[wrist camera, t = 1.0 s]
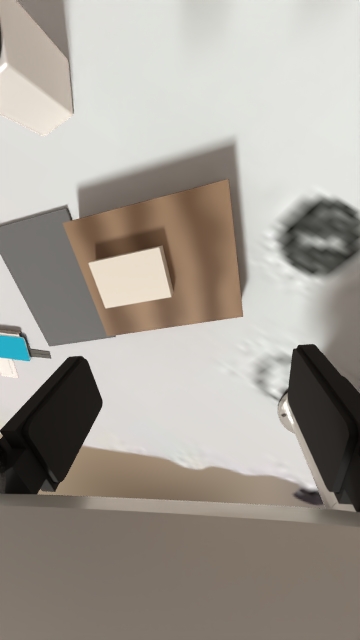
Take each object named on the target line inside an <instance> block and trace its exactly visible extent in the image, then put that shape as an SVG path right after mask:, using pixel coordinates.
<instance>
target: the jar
mask: <svg viewBox="0 0 360 640" xmlns="http://www.w3.org/2000/svg"><path fill="white" fill-rule="evenodd" d="M0 115H2V116H4V117H6V118H8V119H10V120H12V121H14V122H16V123H18V124H20V125H22V126H24V127H26V128H28V129H30V130H32V131H34V132H36V133H38V134H40V135H42V136H46V135H47V134H49V133H50V132H51V131H53V130H54V129H55V128H57V127H58V126H59V125H61V124H62V123H63V122H65V121H66V120H67V119H69V118H70V117H72V116H73V107H72V96H71V84H70V73H69V62H68V59H67V58H66V57H65V55H64V54H63V53H62V52H61V51H60V50H59V49H58V47H57V46H56V45H55V44H54V43H53V42H52V41H51V39H50V38H49V37H48V36H47V35H46V34H45V33H44V31H43V30H42V29H41V28H40V27H39V26H38V24H37V23H36V22H35V21H34V20H33V19H32V18H31V16H30V15H29V14H28V13H27V12H26V11H25V10H24V8H23V7H22V6H21V5H20V4H19V3H18V1H17V0H0Z"/></svg>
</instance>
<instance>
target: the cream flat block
mask: <svg viewBox="0 0 360 640" xmlns="http://www.w3.org/2000/svg"><path fill="white" fill-rule="evenodd" d="M88 264H89V267H90V269H91V272H92V274H93V277H94V280H95V282H96V285H97V288H98V290H99V293H100V295H101V298H102V301H103V303H104V306H105V308H111V307H117V306H123V305H129V304H134V303H140V302H146V301H152V300H157V299H163V298H169V297H172V294H173V288H172V283H171V279H170V275H169V271H168V267H167V262H166V258H165V254H164V250H163V245H162V246H157V247H153V248H148V249H144V250H139V251H135V252H130V253H126V254H121V255H117V256H112V257H108V258H103V259H99V260H95V261H92V262H89V263H88Z"/></svg>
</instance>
